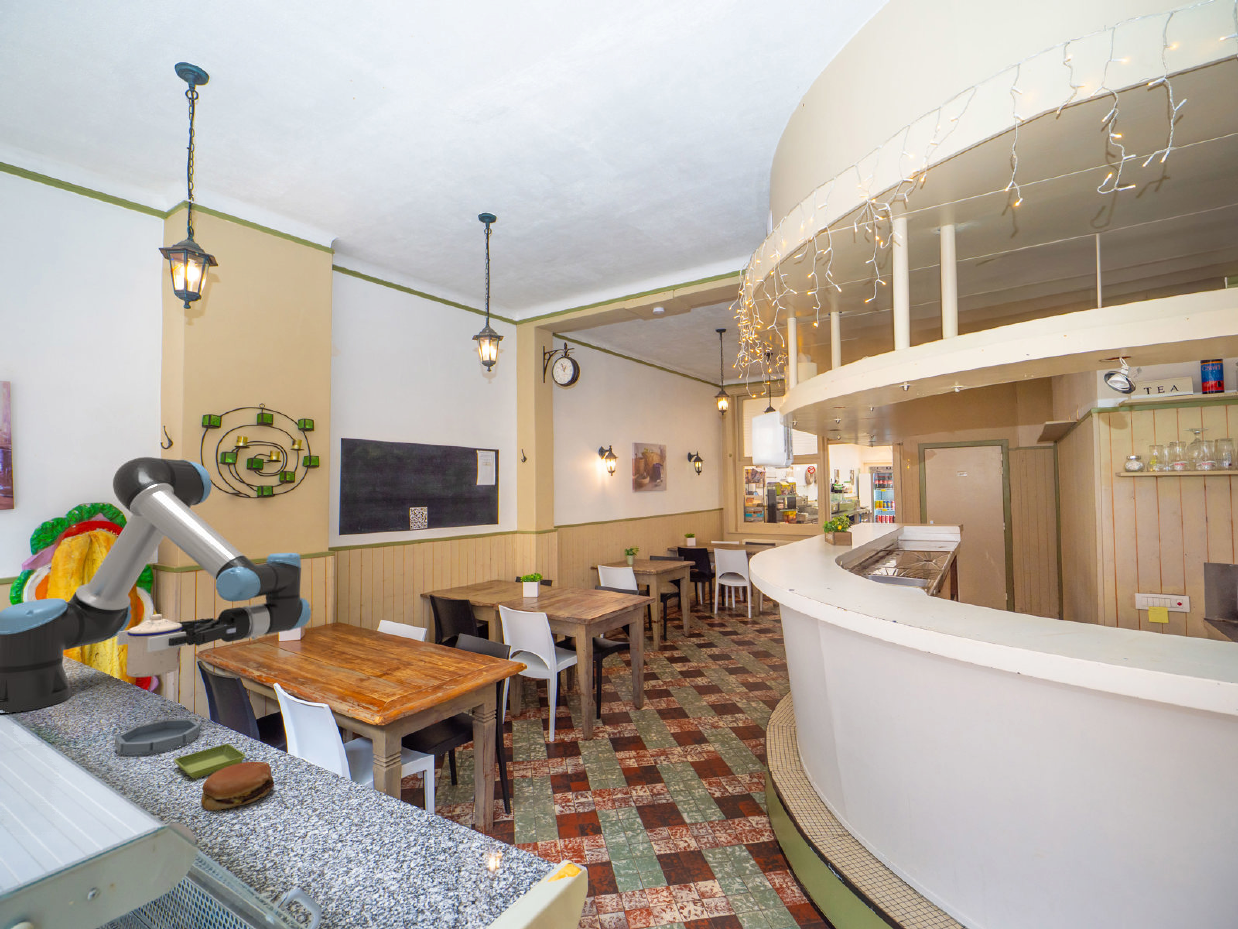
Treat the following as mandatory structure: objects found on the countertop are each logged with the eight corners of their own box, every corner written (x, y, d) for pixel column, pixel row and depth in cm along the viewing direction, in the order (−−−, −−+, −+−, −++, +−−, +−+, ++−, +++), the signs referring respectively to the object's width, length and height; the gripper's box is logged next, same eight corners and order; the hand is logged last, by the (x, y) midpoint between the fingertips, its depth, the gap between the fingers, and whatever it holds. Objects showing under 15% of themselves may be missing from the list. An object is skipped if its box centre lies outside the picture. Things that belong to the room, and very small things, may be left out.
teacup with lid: (190, 668, 124) (192, 612, 125) (140, 680, 116) (143, 620, 117) (158, 662, 129) (160, 608, 130) (108, 673, 121) (111, 615, 122)
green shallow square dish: (246, 767, 106) (246, 755, 106) (189, 785, 99) (189, 773, 99) (227, 754, 111) (228, 743, 111) (172, 771, 104) (172, 759, 104)
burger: (186, 806, 91) (188, 775, 92) (243, 781, 100) (244, 752, 101) (231, 819, 88) (233, 786, 88) (286, 791, 97) (287, 761, 97)
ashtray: (109, 744, 115) (110, 732, 115) (186, 726, 124) (187, 714, 125) (125, 762, 107) (126, 749, 107) (206, 741, 116) (207, 729, 117)
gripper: (272, 644, 133) (162, 668, 114) (213, 634, 145) (104, 653, 126) (273, 611, 134) (164, 628, 115) (214, 603, 145) (106, 618, 126)
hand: (132, 641), depth 120 cm, fingers closed on teacup with lid, 12 cm apart
